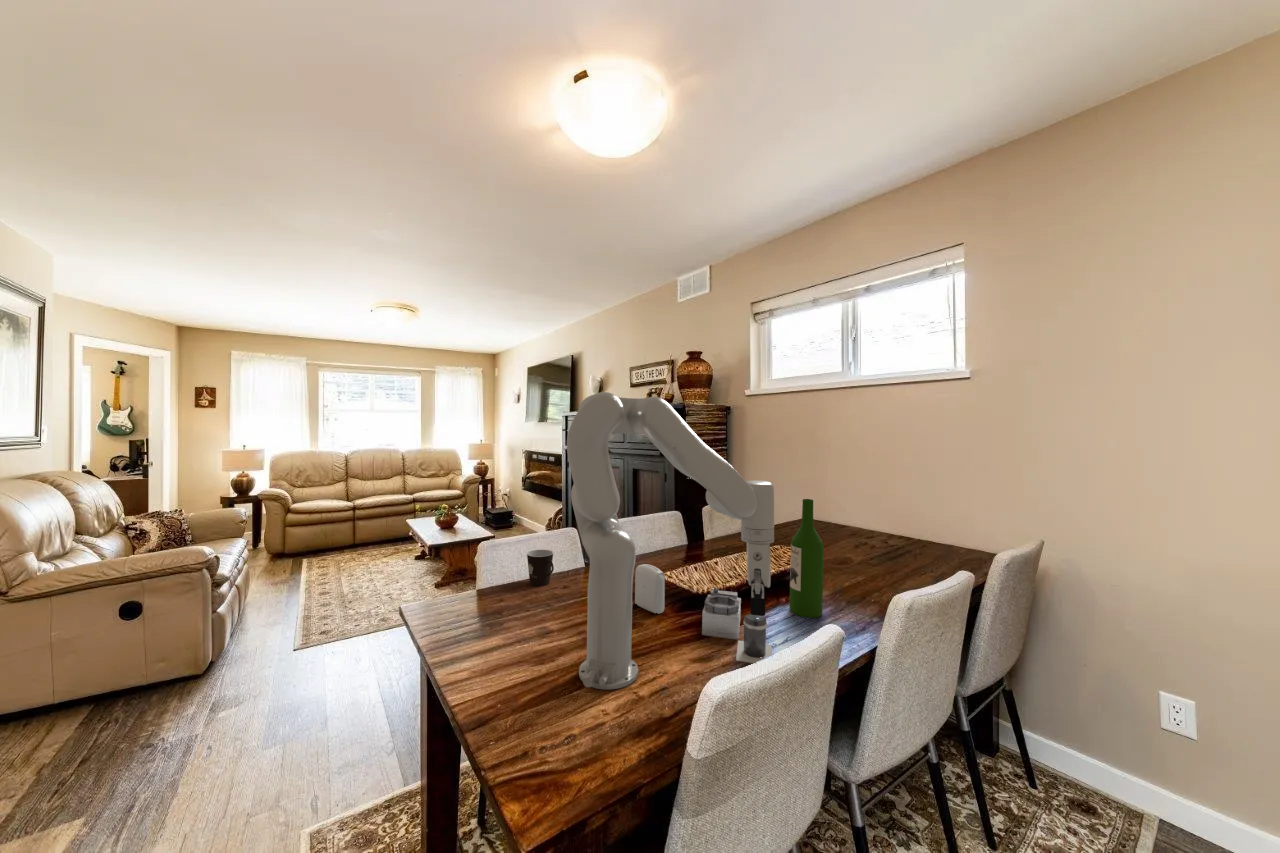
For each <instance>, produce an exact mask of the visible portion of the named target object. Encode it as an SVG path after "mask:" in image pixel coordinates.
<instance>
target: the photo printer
mask: <svg viewBox="0 0 1280 853" xmlns="http://www.w3.org/2000/svg"><path fill="white" fill-rule="evenodd" d="M634 572H635V578H634V583H635V585H634V603H635V605H636V604H637V605H636V606H638V607H640V608H642V609H644V610H646V611H648V612H651V613H654V614H656V613H657V615H659V614H662V613H664V611H665V608H666V607H665V605H666V603H665V602H666V601H665V597H666V596H665V595H666V593H665V592H666V588H665V587H666V584H665V583H666V581H665V580H666V576H665V574H664V572H663V571H662V570H661V569H660V568H658V567H656V566H654V565H652V564H647V563H644V564H638V565H637V566H636V568H635V570H634Z"/></svg>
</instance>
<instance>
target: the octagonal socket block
mask: <svg viewBox="0 0 1280 853" xmlns="http://www.w3.org/2000/svg"><path fill="white" fill-rule="evenodd" d="M741 604H742V598H741V597H738V592H737V591H727V590H719V588H718V587H714V588H713V589H711V591H710V594H707V596H706V597H705V600H704V607H703V609H702V614H701V615H702V619H701V622H702V623H701V635H702V636H707V637H715V638H716V637H717V638H723V639H729V640H730V639H731V640H737V641H738V640H739V636H740V629H741V628H740V627H741V626H740V624H741V612H742V609H741V608H742V607H741Z"/></svg>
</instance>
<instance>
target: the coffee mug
mask: <svg viewBox="0 0 1280 853" xmlns="http://www.w3.org/2000/svg"><path fill="white" fill-rule="evenodd" d="M526 557H527V568H528V569H527V570H528V578H529V585H531V587H545V586H548V585H550V581H551V575H552V574H553V572H554V563H553V558H554V551H553V550H550V549H533V550H530V551H528V552H526Z"/></svg>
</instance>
